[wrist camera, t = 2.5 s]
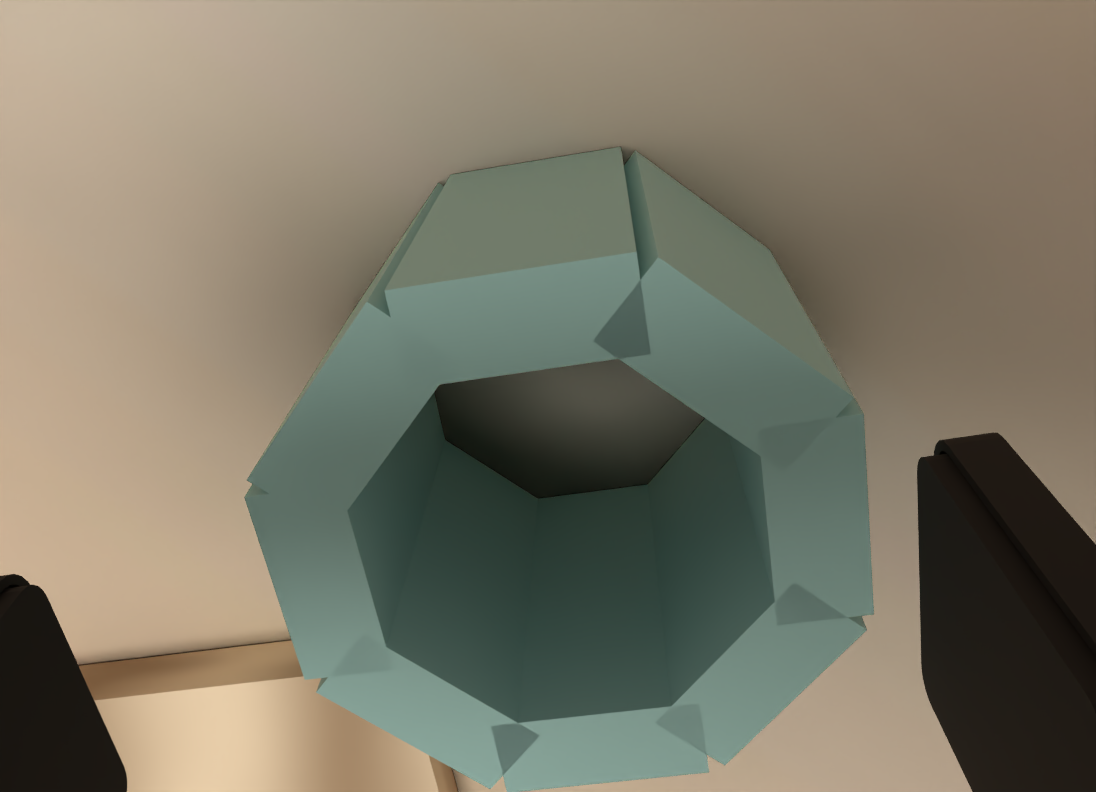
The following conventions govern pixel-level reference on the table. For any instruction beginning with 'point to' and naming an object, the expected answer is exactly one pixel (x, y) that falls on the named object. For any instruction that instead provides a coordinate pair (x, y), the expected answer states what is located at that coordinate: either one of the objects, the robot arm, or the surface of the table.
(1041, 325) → the table surface
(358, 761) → the board
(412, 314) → the ring
